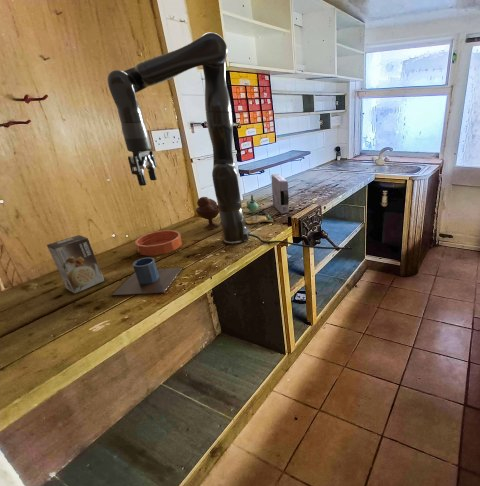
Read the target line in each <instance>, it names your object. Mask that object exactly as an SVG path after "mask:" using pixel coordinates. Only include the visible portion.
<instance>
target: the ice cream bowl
mask: <svg viewBox="0 0 480 486" xmlns="http://www.w3.org/2000/svg"><path fill="white" fill-rule="evenodd" d="M196 204H197V205H196V206H198V207H196V208H195V212H196V214H197V215H198V216H199V217H201V218H202V219H204V220H207V221H208V224H207V225H205V228H206V229H212V228H218V226H219V225H218V224H216V223H214V222H213V219H216V217H218V214H219V208H218V203H217V201H215V200H214V199H212V198H209V197H207V196H201V197H199V198H198V199H197V202H196Z"/></svg>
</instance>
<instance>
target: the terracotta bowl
mask: <svg viewBox="0 0 480 486" xmlns="http://www.w3.org/2000/svg"><path fill="white" fill-rule="evenodd" d="M182 245H183V240H182V235H181V233H180V231H177V230H171V229H168V230H166V229H165V230H158V231H157V230H156V231H152V232H150V233H146V234H143V235H142V236H139V237H138V238H137V239H135V242H134V246H135V248H136V251H137V253H138V254H139V255H141V256H146V257H151V256H159V255H164V254H167V253H171V252H174V251H176V250H178V249H179V248H180V247H181V246H182Z"/></svg>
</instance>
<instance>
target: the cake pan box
mask: <svg viewBox="0 0 480 486" xmlns="http://www.w3.org/2000/svg"><path fill="white" fill-rule="evenodd" d="M270 175H271V192H272V206H274V207H275V209H276V210H277V211H278V212H279V213H280V214H282V215H283V214H289V213H290V204H289V203H290V198H289V197H290V196H289V181H288V180H287V178H285V177H284V176H282V175H280V174H279V173H273V174H272V173H271V174H270Z"/></svg>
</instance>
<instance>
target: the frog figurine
mask: <svg viewBox="0 0 480 486" xmlns="http://www.w3.org/2000/svg"><path fill="white" fill-rule="evenodd" d="M260 209H261V212H262V213H263V211H264V210H263V209H262V207H260V206H259V205H258V203H257V202H256V201H255V199H254V194H251V195H250V201H247V202H246V208H245V207H242V210H245V211H244V214H246V213H248V212H251V213H250V214H249V215H248V217H244V218H245V223H246V224H249V225H251V224H258V223H262V222H264V223H274V222H275V220H273V218H272V216H270V215H269V213H268V212H267V213H266V215H263V214H262V213H260ZM255 212H256V213H257V214H256V213H255Z"/></svg>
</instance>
